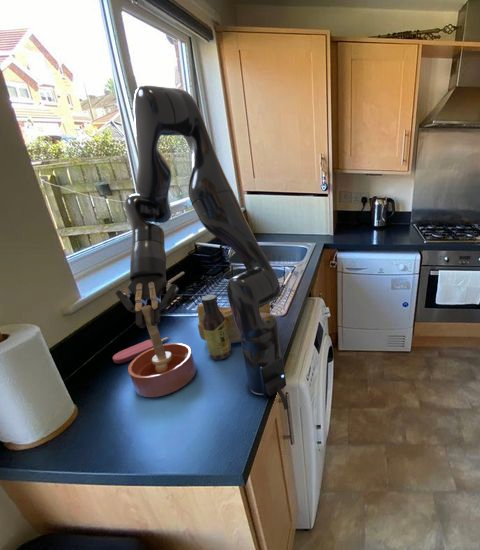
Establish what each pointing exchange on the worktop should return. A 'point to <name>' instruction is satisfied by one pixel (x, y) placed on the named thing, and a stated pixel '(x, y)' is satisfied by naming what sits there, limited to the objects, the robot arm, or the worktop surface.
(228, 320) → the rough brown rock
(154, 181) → the robot arm
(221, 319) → the sauce bottle
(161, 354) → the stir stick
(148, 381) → the mixing bowl
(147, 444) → the worktop surface
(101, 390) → the worktop surface
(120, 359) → the popsicle
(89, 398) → the worktop surface
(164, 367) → the dough ball
